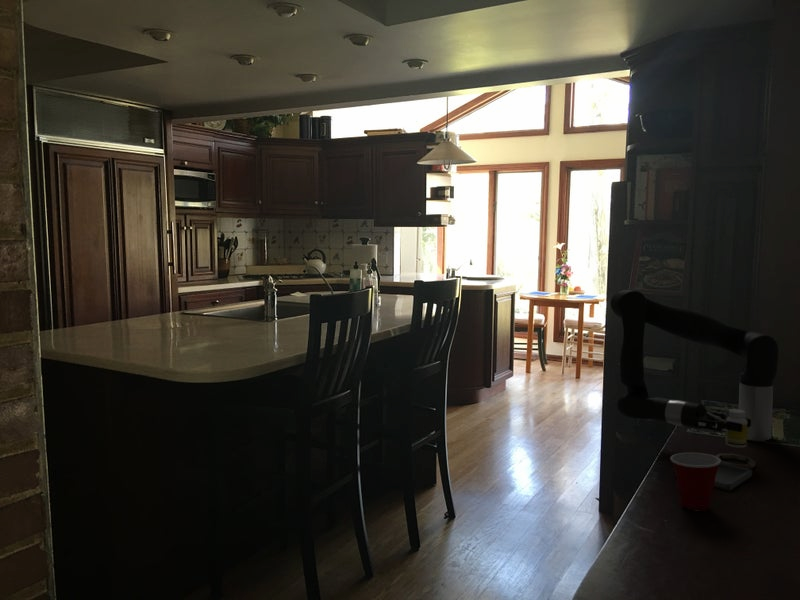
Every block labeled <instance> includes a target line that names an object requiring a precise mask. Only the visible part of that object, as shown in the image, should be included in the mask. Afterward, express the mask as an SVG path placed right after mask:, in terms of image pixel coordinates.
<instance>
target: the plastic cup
mask: <svg viewBox="0 0 800 600" xmlns="http://www.w3.org/2000/svg"><path fill="white" fill-rule="evenodd" d="M669 459H670V461H671V462H672V465H673V466H674V467H673V468H674V470H675V471H676V477H675V478H676V483H677V489H678V492H679V498H680V499H679V500H680V504H681V506H682V505H683V506H685V507H686V508H689V509H692V510H699V511H704V512H706V511H705V510H707V509H708V510H709V508H710V503H711V499H712V496H713V491H714V488H715V487H714V482H715V478H716V474H717V469H718V466H719V464H720V462H721V460H722V459H721V460H720V459H719V458H718V457H716V455H713V454H708V453H703V452H681V453H680V452H679V453H675V454H671V456H670V458H669ZM683 506H682V507H683ZM708 510H707V511H708Z"/></svg>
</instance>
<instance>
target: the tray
mask: <svg viewBox="0 0 800 600" xmlns="http://www.w3.org/2000/svg"><path fill="white" fill-rule="evenodd" d="M674 475H675V476H676V471H675V469H674V471H673V476H674ZM675 476H674V477H675ZM752 477H753V469H746V468H742V467H737V466H733V465H729V464H725V463H721V462H720V464H719V466H718V469H717V474H716V478H715V482H714V487H713V488H715V487H717V488H716V489H719V488H720V489H719V490H723V489H724V491H727V490H728V492H730V491H732V490H733V489H735V488H736V487H738V486H739V485H741V484H743V483H744V482H746V481H747V480H749V479H750V478H752Z"/></svg>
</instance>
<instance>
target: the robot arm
mask: <svg viewBox="0 0 800 600" xmlns="http://www.w3.org/2000/svg"><path fill="white" fill-rule="evenodd" d="M610 308H611V310H612V311H613V313H614V314H615V315H616V316H617V317H619V318H621V322H622V328H623V331H622V332H623V337H622V346H621V350H620V357H619V371H620V372H619V373H620V382H621V384H622V385H623V386H626V390H627V393H626V394H623V395H622V396H620V397H619V398H618V400H617V402H616V403H617V404H616V407H617V409H618V411H619V412H620V414H621V415H623V416H625V417H627V418H630V419H631V418H632V419H641V420H655V421H659V422H663V423H668V424H671V425H673V426H674V425H675V426H679V427H684V428H687V429H688V428H689V429H693V430H698V431H699V430H701V429H704V430H711V431H718V432H721V431H725V430H732V431H738V432H741V431H742V430H743V425H742V424H741V423H735V422H730V421H728V422H727V421H726V418H727V417H730V416H729V411H726V410H722V409H717V410H710V411H708V410H707V409H706V406H705V405H704V404H702V403H698V402H693V401H686V400H681V399H671V398H666V397H665V398H664V397H649V393H648V388H647V384H646V381H645V365H644V362H645V361H644V341H645V340H644V339H645V338H644V337H645V327H646V324H648V325H651V326H654V327H655V328H658V329H660V330H662V331H664V332H666V333H669V334H671V335H673V336H675V337H679V338H681V339H684V340H688V341H690V342H693V343H696V344H701V345H705V346H711V347H712V346H713V347H717V348H721V349H723V350H726V351H728V352H730V353H732V354H735V355H737V356H739V357H741V358H743V359H745V360H746V363H745V364H746V365H745V370H744V371H743V372H741V373H740V375H739V390H738V391H739V392H738V394H739V395H738V409H740V410H743V411H745V417H744V418H745V419H746V420H747V423H748V425H747V441H754V442H767V441H766V440H769V439H771V440H772V423H773V398H774V395H773V394H774V380H775V379H776V376H777V374H778V373H777V371H778V364H779V363H778V361H779V346H778V343H777V341H776V340H775V339H774V337H773V336H771V335H768V334H764V333H761V332H757V331H750V330H746V329H742V328H737V327H734V326H729V325H727V324H725V323H723V322H721V321H720V320H717V319H715V317H711V316H709V315H707V314H704V313H701V312H698V311H695V310H693V309H690V308H684V307H680V306H676V305H671V304H665V303H660V302H657V301H654V300H652V299H650V298H646V296H645V295H644V294H643V293H642V292H640V291H638V290H635V289H622V290H619V291H618V292H616V293H615V294H613V296H612V297H611V299H610ZM769 441H770V440H769Z"/></svg>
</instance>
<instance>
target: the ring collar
mask: <svg viewBox="0 0 800 600" xmlns="http://www.w3.org/2000/svg"><path fill="white" fill-rule="evenodd" d="M715 456H716V457H718V458H719V459H720V460H721V463H725V464H729V465H733V466H737V467H742V468H746V469H750V470H753V468H754V467H756V461H755V460H753V459H752V458H751V457H749V456H747V455H742V454H741V455H740V454H738V453H718V454H716V455H715ZM723 459H724V460H738V461H742V462H745V463H732V462H728V461H724V460H723Z"/></svg>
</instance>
